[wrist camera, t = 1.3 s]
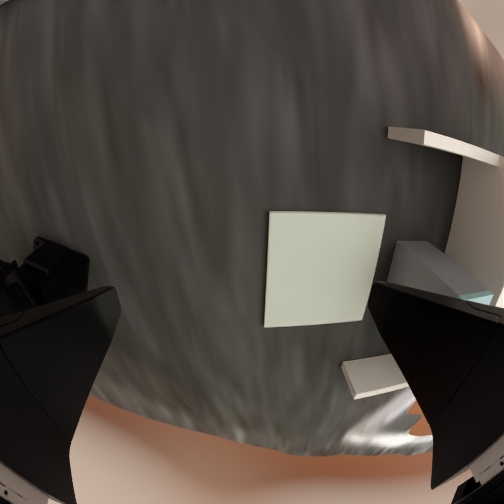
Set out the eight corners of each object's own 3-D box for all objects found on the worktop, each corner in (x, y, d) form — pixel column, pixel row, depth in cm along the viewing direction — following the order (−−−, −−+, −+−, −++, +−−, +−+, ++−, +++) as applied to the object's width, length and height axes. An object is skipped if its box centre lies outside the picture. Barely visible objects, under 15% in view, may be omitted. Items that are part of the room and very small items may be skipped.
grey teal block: (382, 295, 26) (432, 364, 17) (396, 240, 23) (463, 300, 14) (412, 292, 26) (464, 354, 17) (427, 240, 24) (493, 294, 14)
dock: (341, 367, 30) (364, 428, 22) (388, 126, 19) (465, 136, 11) (417, 352, 31) (447, 401, 22) (475, 150, 20) (542, 171, 11)
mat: (263, 324, 26) (264, 327, 26) (269, 211, 21) (270, 212, 21) (360, 317, 27) (362, 320, 26) (383, 214, 22) (385, 215, 22)
